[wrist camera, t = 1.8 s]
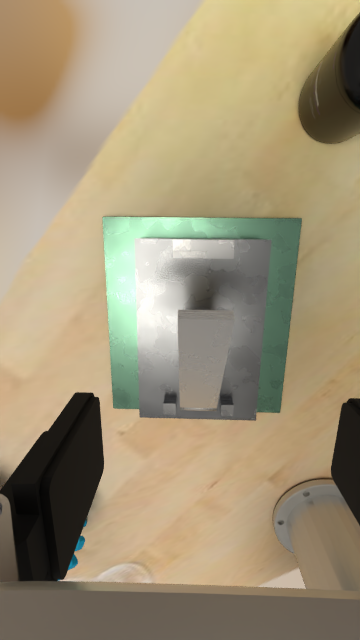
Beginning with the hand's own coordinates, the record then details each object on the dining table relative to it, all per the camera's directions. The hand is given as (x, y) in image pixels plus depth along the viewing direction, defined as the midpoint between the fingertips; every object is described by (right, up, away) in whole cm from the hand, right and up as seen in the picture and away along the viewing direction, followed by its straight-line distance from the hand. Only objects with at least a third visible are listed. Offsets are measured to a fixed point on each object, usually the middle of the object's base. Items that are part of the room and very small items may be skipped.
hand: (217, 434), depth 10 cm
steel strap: (0, 0, +15) cm, 15 cm away
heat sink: (+1, +4, +24) cm, 24 cm away
